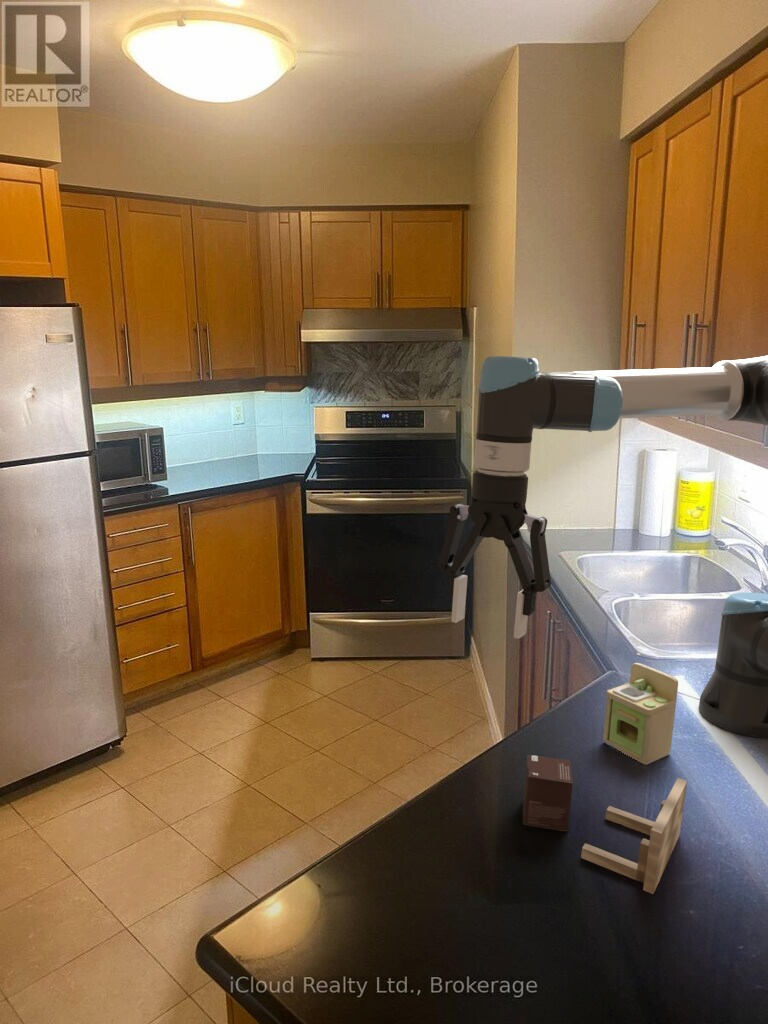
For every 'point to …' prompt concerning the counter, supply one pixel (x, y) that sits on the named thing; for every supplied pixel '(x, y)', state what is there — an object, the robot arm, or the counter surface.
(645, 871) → the rack
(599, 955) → the counter surface
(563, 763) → the box
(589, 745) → the counter surface
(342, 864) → the counter surface
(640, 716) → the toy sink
